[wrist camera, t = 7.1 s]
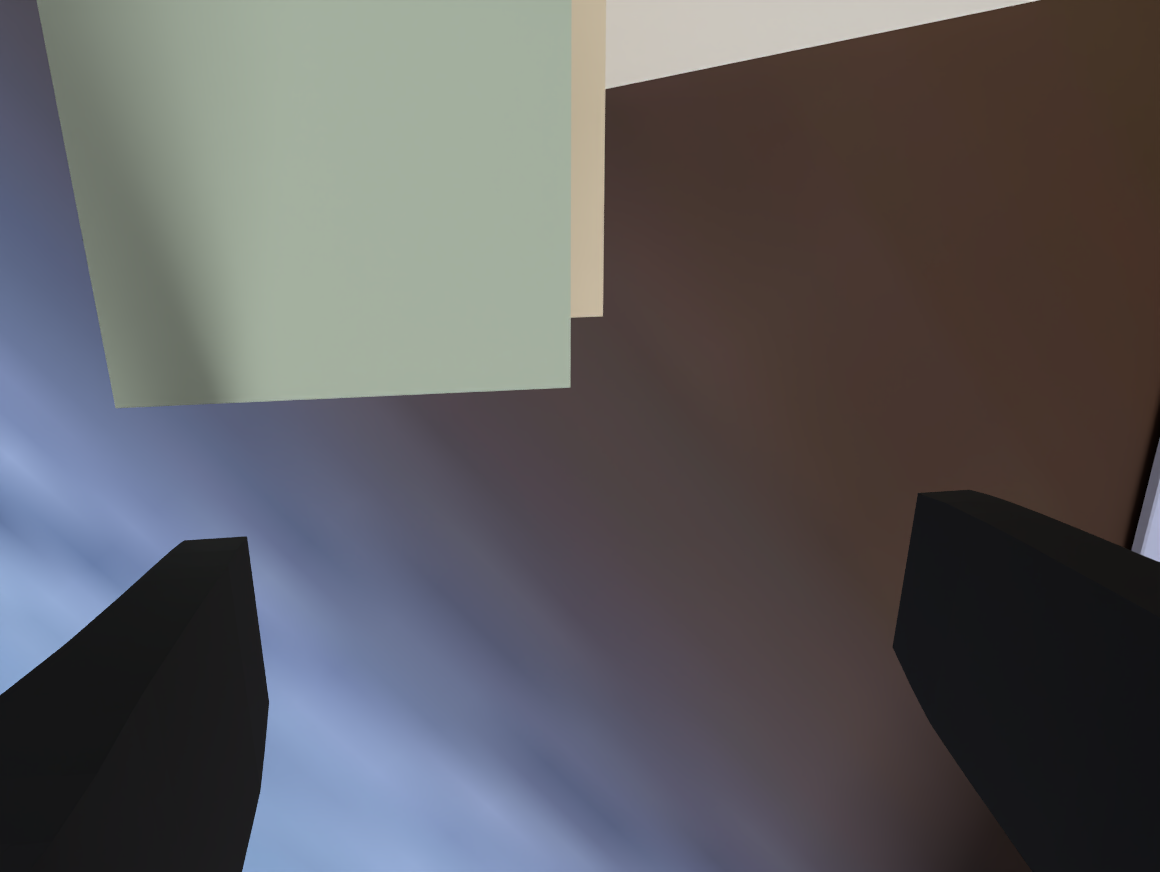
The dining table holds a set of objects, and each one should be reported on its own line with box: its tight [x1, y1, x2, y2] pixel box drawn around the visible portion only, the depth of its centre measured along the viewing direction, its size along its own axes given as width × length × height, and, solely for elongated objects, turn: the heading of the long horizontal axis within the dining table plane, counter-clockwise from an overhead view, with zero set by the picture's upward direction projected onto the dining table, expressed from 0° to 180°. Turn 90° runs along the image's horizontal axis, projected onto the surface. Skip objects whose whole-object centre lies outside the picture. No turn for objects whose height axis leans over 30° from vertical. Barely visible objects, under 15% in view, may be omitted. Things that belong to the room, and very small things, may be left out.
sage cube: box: [37, 0, 572, 408], centre depth 12 cm, size 4×4×5 cm
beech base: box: [571, 0, 606, 317], centre depth 16 cm, size 7×7×4 cm
